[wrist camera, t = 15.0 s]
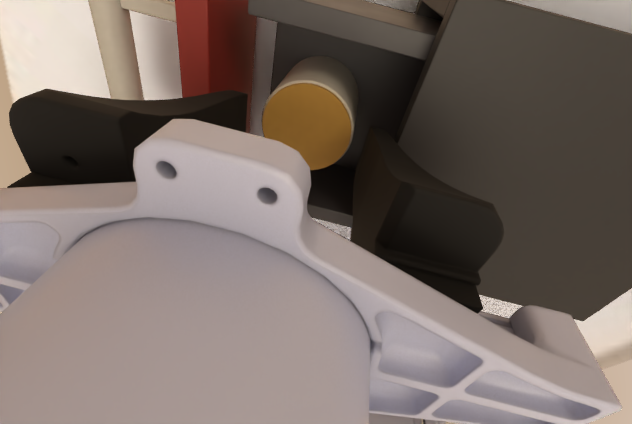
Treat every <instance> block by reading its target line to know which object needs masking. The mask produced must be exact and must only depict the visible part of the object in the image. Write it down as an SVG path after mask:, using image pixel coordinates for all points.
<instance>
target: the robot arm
mask: <svg viewBox="0 0 632 424" xmlns="http://www.w3.org/2000/svg"><path fill="white" fill-rule="evenodd" d="M247 100H248V94H246V93H242V92H238V91H234V90H226V91H219V92H214V93H208V94H203V95H198V96H191V97H185V98H178V99H169V100H120V99H108V98H100V97H92V96H85V95H79V94H73V93H67V92H62V91H56V90H51V89H44V90H41V91H39V92H36V93H33V94H31V95H28V96H25V97H23V98H20V99H19V100H17V101H16V102H15V103H13V104H12V107H11V109H10V112H9V118H10V126H11V129H12V132H13V135H14V137H15V139H16V141H17V143H18V145H19V147H20V150H21V152H22V154H23V156H24V158H25V160H26V162H27V164H28V166H29V168H30V171H31V173H30V174H28V175H26V176H25V177H23V178H21V179H20V180H18V181H16V182H15V183H13V184H11V185H10V186H8V187H7V188H0V311H1V312H2V313H1V314H0V424H422V419H423V424H446V423H445V422H453V423H461V424H589V423H591V422H594V421H596V420H599V419H601V418H604V417H606V416H609V415H611V414H614V413H616V412H619V411H621V409H622V405H621V404H620V402H619V400H618V398H617V396H616V395H615V393H614V391H613V389H612V387H611V386H610V384H609V382H608V380H607V378H606V377H605V375H604V373H603V371H602V369H601V368H600V366H599V364H598V362H597V360H596V359H595V357H594V355H593V353H592V351H591V350H590V348H589V346H588V344H587V343H586V341H585V339H584V337H583V335H582V334H581V332H580V330H579V328H578V326H577V325H576V323H575V321H574V319H573V317H572V316H571V315H570V314H567V313H563V312H559V311H555V310H551V309H547V308H543V307H539V306H534V305H528V306H523V307H521V308H519V309H518V310H517V311H516V312H515V313H514V314H513V315H512V316H511V317H510V318H505V317H501V316H497V315H493V314H490V313H486V312H482V311H481V310H482V309H483V307H482V304H481V300H480V297H479V294H478V291H477V288H476V286H478V285H479V284H480V283H481V278H480V275H479V272H478V271H479V270H480V269H481V268H482V267H483V265H484V264H485V263H486V262H487V261H488V260H489V258H490V257H491V256H492V255H493V254H494V253H495V252H496V250H497V249H498V247H499V246H500V244H501V243H502V240H503V236H504V228H503V223H502V221H501V219H500V217H499V214H498V212H497V210H496V208H495V206H494V204H492V203H489V202H487V201H484V200H481V199H479V198H476V197H473V196H471V195H468V194H466V193H464V192H461V191H459V190H457V189H455V188H453V187H451V186H449V185H447V184H445V183H444V182H442V181H440V180H439V179H437V178H435V177H434V176H432V175H431V174H429V173H428V172H427V171H425V170H424V169H423V168H421V167H420V166H419V165H418V164H416V163H415V162H414V161H413V160H412V159H411V158H410V157H409V156H408V155H407V154H406V153H405V152H404V151H403V150H402V149H401V148H400V146H399V145H398V144H397V143H396V142H395V140H394V139H393V138H392V137H391V136H390V134H389V133H388V132H387V131H386V130H384V129H380V128H376V127H373V126H370V128H369V131H368V134H367V137H366V140H365V143H364V146H363V149H362V152H361V155H360V158H359V161H358V164H357V167H356V172H355V178H354V184H353V223H352V234H351V241H349V240H348V239H346V238H344V237H342V236H341V235H339V234H337V233H335V232H334V231H332V230H330V229H328V228H327V227H325V226H323V225H321V224H320V223H318V222H316V221H314V220H313V219H312V218H311V216H310V215H309V214H308V211H307V200H308V196H309V192H310V187H311V175H310V167H309V165H308V164H307V163H306V161H305V160H304V159H303V157H302V156H301V154H300V153H299V152H298V151H297V150H295V149H293V148H291V147H289V146H287V145H285V144H283V143H281V142H280V141H276V140H272V139H268V138H264V137H260V136H257V135H253V134H249V133H246V118H247Z"/></svg>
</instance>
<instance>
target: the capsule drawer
mask: <svg viewBox="0 0 632 424" xmlns="http://www.w3.org/2000/svg"><path fill="white" fill-rule="evenodd" d="M88 1H89V6H90V10H91V14H92V18H93V23H94V27H95V31H96V36H97V40H98V44H99V48H100V53H101V57H102V61H103V65H104V70H105V74H106V78H107V83H108V87H109V91H110V95H111V99H120V100H144V98H143V92H142V86H141V80H140V73H139V67H138V61H137V55H136V49H135V43H134V37H133V31H132V25H131V19H130V13H129V10H131V11H135V12H139V13H142V14H146V15H150V16H154V17H158V18H161V19H165V20H169V21H173V22H176V23H177V35H178V47H179V60H180V72H181V84H182V96H183V98H185V97H191V96H198V95H203V94H208V93H214V92H219V91H226V90H234V91H238V92H242V93H246V94H248V100H247V118H246V133H249V130H250V115H251V100H252V84H253V69H254V53H255V38H256V23H257V17H261V18H265V19H268V20H272V21H276V22H278V24H277V33H276V43H275V53H274V62H273V72H272V82H271V91H270V95H271V94H272V92H273V91H274V90H275V89H276V88H277V86H278V85H279V84H280V83H281V81H282V80H283V79H284V78H285V77H286V75H287V74H288V73H289V72H290V70H291V69H292V68H293V67H294V66H295V65H296V64H297V63H299V62H300V61H302V60H304V59H306V58H308V57H312V56H327V57H331V58H333V59H336V60H338V61H339V62H341V63H342V64H344V65H345V66H346V67H347V68H348V69H349V71H350V72H351V73H352V75H353V77H354V78H355V81H356V84H357V87H358V105H357V112H356V119H355V126H354V134H353V139H352V142H351V144H350V147H349V148H348V150H347V152H346V153H345V154H344V155H343V156H342V157H341V158H340V159H339V160H338V161H336V162H335V163H333V164H331V165H329V166H327V167H325V168H321V169H316V170H310V175H311V187H310V192H309V196H308V200H307V211H308V214H309V215H310V216H311V217H312V218H316V219H320V220H324V221H328V222H332V223H336V224H340V225H343V226H347V227H351V228H352V223H353V184H354V178H355V172H356V167H357V164H358V161H359V158H360V155H361V152H362V149H363V146H364V143H365V140H366V137H367V134H368V131H369V128H370V126H373V127H376V128H380V129H384V130H386V131H387V132H388V133H389V134H390V136H391V137H392V138H393V139H395V137H396V134H397V132H398V129H399V127H400V124H401V122H402V119H403V117H404V114H405V112H406V109H407V107H408V104H409V102H410V99H411V97H412V94H413V92H414V89H415V87H416V85H417V82H418V80H419V77H420V75H421V72H422V70H423V67H424V65H425V62H426V60H427V57H428V55H429V52H430V50H431V47H432V45H433V42H434V40H435V38H436V35H437V33H438V30H439V28H440V25H441V23H442V21H439V20H435V19H432V18H428V17H424V16H420V15H416V14H413V13H409V12H405V11H401V10H398V9H394V8H390V7H386V6H383V5H379V4H375V3H371V2H367V1H364V0H175V3H174V2H171V1H167V0H88Z"/></svg>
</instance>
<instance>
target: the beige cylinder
mask: <svg viewBox="0 0 632 424" xmlns="http://www.w3.org/2000/svg"><path fill="white" fill-rule="evenodd" d="M357 105H358V87H357V84H356V81H355V78H354V77H353V75H352V73H351V72H350V71H349V69H348V68H347V67H346V66H345V65H344V64H342V63H341V62H339V61H338V60H336V59H333V58H331V57H327V56H312V57H308V58H306V59H304V60H302V61H300V62H299V63H297V64H296V65H295V66H294V67H293V68H292V69H291V70H290V72H289V73H288V74H287V75H286V77H285V78H284V79H283V80H282V81H281V83H280V84H279V85H278V86H277V88H276V89H275V90H274V91H273V92H272V94H271V95H270V96H269V98H268V99H267V101H266V103H265V106H264V108H263V113H262V128H263V133H264V137H265V138H268V139H272V140H276V141H280V142H281V143H283V144H285V145H287V146H289V147H291V148H293V149H295V150H297V151H298V152H299V153H300V154H301V156H302V157H303V159H304V160H305V161H306V163H307V164H308V165H309V167H310V170H316V169H321V168H325V167H327V166H329V165H331V164H333V163H335V162H336V161H338V160H339V159H340V158H341V157H342V156H343V155H344V154H345V153H346V152H347V150H348V148H349V147H350V144H351V142H352V139H353V134H354V126H355V119H356V112H357Z"/></svg>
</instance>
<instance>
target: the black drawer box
mask: <svg viewBox="0 0 632 424" xmlns="http://www.w3.org/2000/svg"><path fill="white" fill-rule="evenodd" d="M415 14H416V15H420V16H424V17H428V18H432V19H435V20H439V21H442V23H441V25H440V28H439V30H438V33H437V35H436V38H435V40H434V42H433V45H432V47H431V50H430V52H429V55H428V57H427V60H426V62H425V65H424V67H423V70H422V72H421V75H420V77H419V80H418V82H417V85H416V87H415V89H414V92H413V94H412V97H411V99H410V102H409V104H408V107H407V109H406V112H405V114H404V117H403V119H402V122H401V124H400V127H399V129H398V132H397V134H396V137H395V139H394V140H395V142H396V143H397V144H398V145H399V146H400V148H401V149H402V150H403V151H404V152H405V153H406V154H407V155H408V156H409V157H410V158H411V159H412V160H413V161H414V162H415V163H416V164H418V165H419V166H420V167H421V168H423V169H424V170H425V171H427V172H428V173H429V174H431V175H432V176H434V177H435V178H437V179H439V180H440V181H442V182H444V183H445V184H447V185H449V186H451V187H453V188H455V189H457V190H459V191H461V192H464V193H466V194H468V195H471V196H473V197H476V198H479V199H481V200H484V201H487V202H489V203H492V204H494V206H495V208H496V210H497V212H498V214H499V217H500V219H501V221H502V223H503V228H504V236H503V240H502V243H501V244H500V246H499V247H498V249H497V250H496V252H495V253H494V254H493V255H492V256H491V257H490V258H489V260H488V261H487V262H486V263H485V264H484V265H483V267H482V268H481V269H480V270H479V271H478V272H479V275H480V278H481V283H480V284H479V285H478V286H476V288H477V291H478V294H479V295H483V296H487V297H491V298H495V299H498V300H502V301H506V302H510V303H514V304H518V305H522V306H528V305H534V306H539V307H543V308H547V309H551V310H555V311H559V312H563V313H567V314H570V315H571V316H572V317H573V319H576V320H580V321H584V320H586V319H587V318H588V317H590V316H591V315H593V314H594V313H596V312H597V311H599V310H600V309H602V308H603V307H605V306H606V305H608V304H609V303H610V302H612V301H613V300H615V299H616V298H618V297H619V296H621V295H622V294H624V293H625V292H627V291H628V290H630V289H631V288H632V34H631V33H627V32H623V31H619V30H616V29H612V28H608V27H604V26H601V25H597V24H593V23H589V22H586V21H582V20H578V19H574V18H571V17H567V16H563V15H559V14H556V13H552V12H548V11H544V10H541V9H537V8H533V7H529V6H526V5H522V4H518V3H514V2H511V1H507V0H419V3H418V5H417V8H416V11H415ZM351 234H352V229H351ZM350 241H351V240H350Z"/></svg>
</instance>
